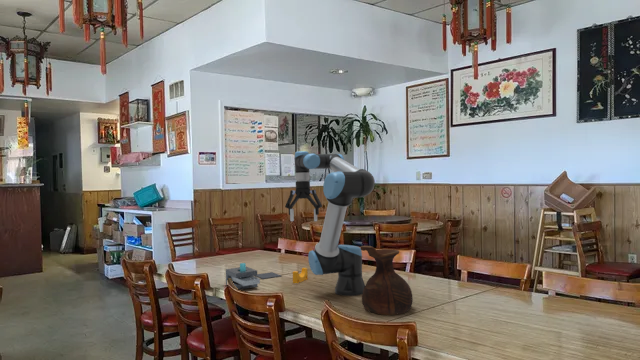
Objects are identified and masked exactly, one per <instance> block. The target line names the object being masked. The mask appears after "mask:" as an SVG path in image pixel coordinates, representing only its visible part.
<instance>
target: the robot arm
mask: <svg viewBox="0 0 640 360" xmlns="http://www.w3.org/2000/svg"><path fill="white" fill-rule="evenodd" d="M313 169H315V170H319V169H320V170H321V169H323V170H325V169H327V170H328V169H329V170H332V171H333V172H329V173H328V174H327V175H326V177H325V179H324V181H323V190H322V191H323V195H324V197H325V199H326V201H327V202H328V203H327V208H326V212H325V217H324V220H323V225H322V230H321V235H320V239H319V242H318V243H316V244H315V246H314V250H313V249H311V250H309V252H308V255H307V256H308V257H307V258H308V265H309V268H310V270H311V272H312V274H314V275H316V276H321V275H322V276H323V275H330V274H338V277H337V281H336V284H335V287H334V293H335V295H339V296H343V297H344V296H345V297H352V296H355V297H356V296H362V294H363V290H364V287H365V285H366V283H365V281H364V278H363V252H362V251H363V250H361V246H358V245H351V244H339V242H340V237H341V233H342V229H343V225H344V220H345V216H346V213H347V210H348V209H347V208H348V207H349V206H350V205H352V202H353V199H356V198H364V197H366V196H368V195H370V194H371V193H372V192H373V190H374V189H375V184H376V183H375V177H374V176H373V175H372V173H370V172H369V171H368V170H366V169H364V168H359V167H357V166H355V165H353V164H352V163H350V162H348V161H346V160H345V157H344V155H343V154H340V153H309V151H307V150H306V151H295V153H294V171H295V175H294V176H295V177H294V178H295V190H294V189H292V190H290V192H289V196H288V199H287V201H286V203H285V205H284V206H285V208H286V209H288V215H289V219H290V220H289V221H290V222H294V220H295V216H294V215H295V213H294V211H295V210H294V208H293V207H294V206H295V205H296V203H297V202H298V201H299V200H300V199H307V201H308V202H310V204H311V205H312V206H313V207H314V208H313V222H318V215H319V214H320V212H319V211H320V210H319V209H320V208H322V207H323V204H322V203H321V200H320V199H319V197H318V193H317V190H316V189H311V181H310V179H311V177H310V170H313ZM310 194H311V195H312V196H311V195H310ZM294 196H295V197H294ZM312 197H313V198H314V199H313V198H312ZM293 198H294V199H293ZM319 216H320V215H319Z"/></svg>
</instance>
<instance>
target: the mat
mask: <svg viewBox="0 0 640 360" xmlns="http://www.w3.org/2000/svg"><path fill="white" fill-rule="evenodd" d="M255 277H257V278H259V279H260V280H261V279H262V280H267V279H273V278H274V279H275V278H280V277H282V275H281V274H278V273H275V272H272V271H271V272H264V273H257V275H256V276H255Z"/></svg>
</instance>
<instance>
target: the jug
mask: <svg viewBox="0 0 640 360" xmlns="http://www.w3.org/2000/svg"><path fill="white" fill-rule="evenodd" d="M360 248H361V251H363V252H364V251H367V253H368V256H369V257H371V258H373V259H374V260H375V266H376V268H375V271H374V273H373V274H372V275H371V276H370V278H368V280H367V281H366V282H365V287H364V290H363V294H362V295H361V304H362V306H363V309H364V310H365V311H367V312H369V313H372V314H376V315H381V316H397V315H403V314H405V313H407V312H408V311H409V310H410V309H412V305H413V293H412V289H411V286H410V285H409V283H408V282H407V281H406V279H404V278H403V277H402V276H401V275H400V274H399V273H397V272H396V271H395V268H394V264H393V262H394V259H395V257H396V256H397V255H399V253H400V251H399V250H398V249H387V248H386V249H385V248H381V249H376V248H375V247H373V246H371V245H361V246H360Z"/></svg>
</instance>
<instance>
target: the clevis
mask: <svg viewBox="0 0 640 360" xmlns="http://www.w3.org/2000/svg"><path fill="white" fill-rule="evenodd" d="M257 274H258V270H257V269H254V268H251V267H249V266H246V271H240V266H239V267H232V268H225V285H226V286H227V280H228V278H231V279H232V281H233V283H234V285H235V286H236V287H237V288H238V289H239V290H244V289H252V288H257V287H258V285H259V284H261V278H258V277H256V275H257Z"/></svg>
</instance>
